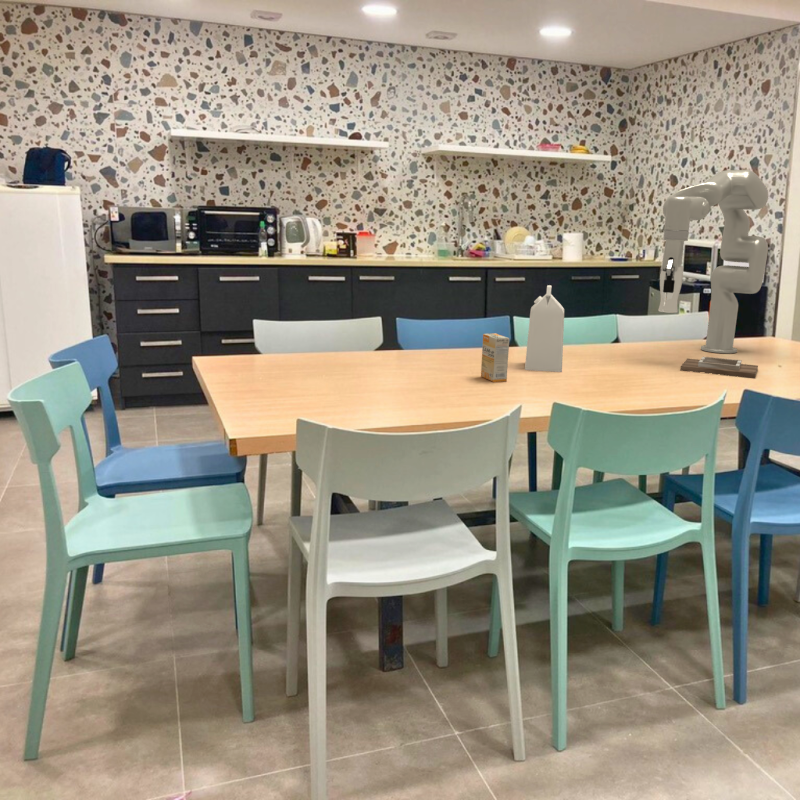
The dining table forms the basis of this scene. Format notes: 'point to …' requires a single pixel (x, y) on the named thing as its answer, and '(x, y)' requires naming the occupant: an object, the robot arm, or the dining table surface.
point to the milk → (545, 334)
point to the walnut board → (720, 367)
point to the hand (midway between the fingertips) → (670, 291)
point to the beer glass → (670, 299)
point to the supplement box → (495, 357)
